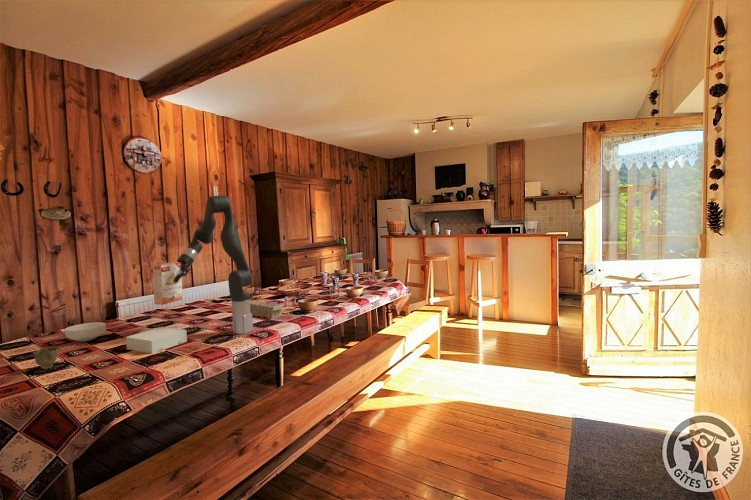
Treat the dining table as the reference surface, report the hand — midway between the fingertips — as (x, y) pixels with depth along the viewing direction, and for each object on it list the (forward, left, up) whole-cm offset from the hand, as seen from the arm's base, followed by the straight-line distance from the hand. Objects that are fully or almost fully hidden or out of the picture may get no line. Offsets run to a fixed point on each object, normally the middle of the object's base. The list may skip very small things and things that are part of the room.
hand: (170, 281), depth 196 cm
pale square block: (-13, +19, -28) cm, 36 cm away
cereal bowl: (+33, +25, -28) cm, 50 cm away
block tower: (-23, -45, -28) cm, 58 cm away
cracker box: (0, +2, -11) cm, 11 cm away
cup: (+4, +55, -28) cm, 62 cm away
